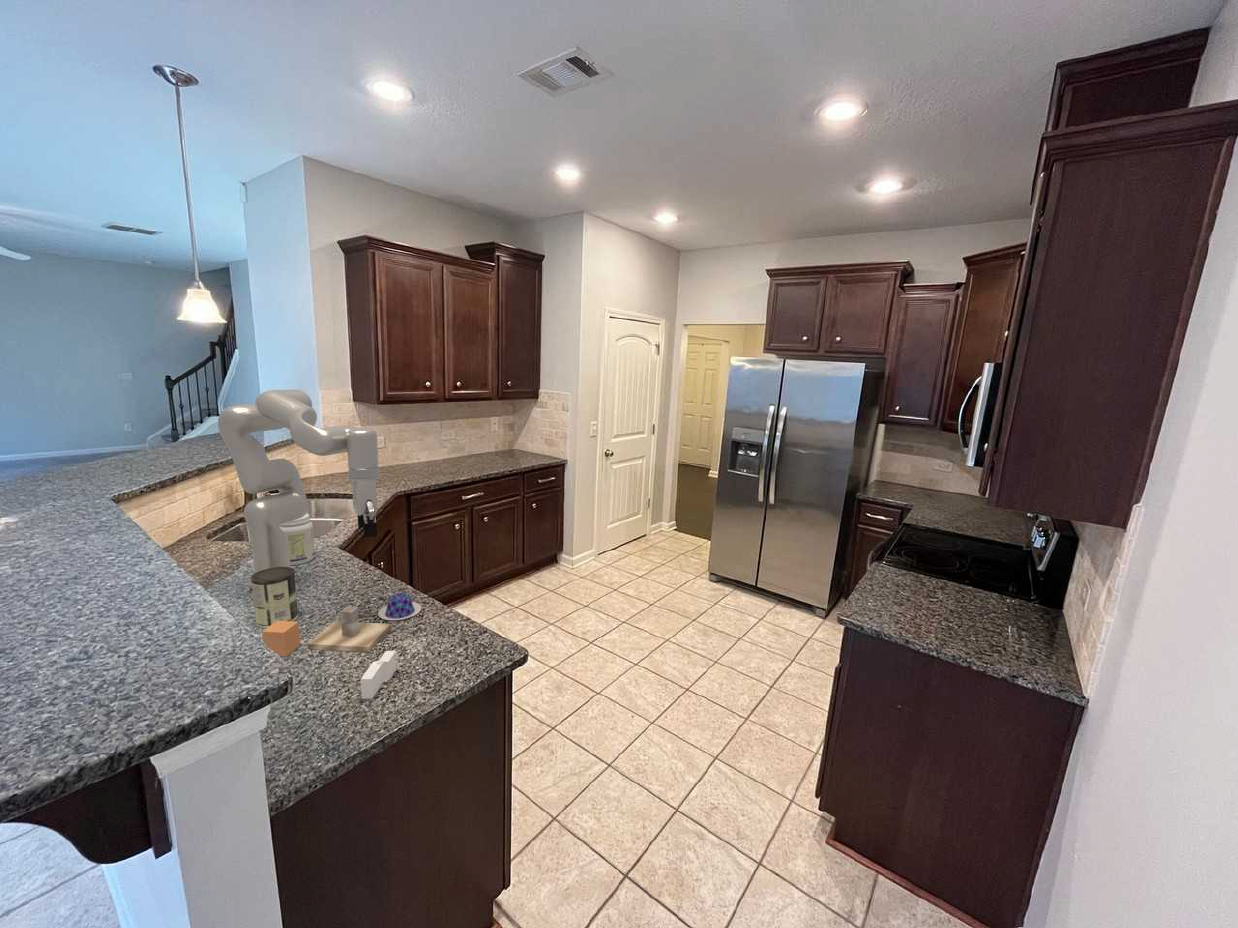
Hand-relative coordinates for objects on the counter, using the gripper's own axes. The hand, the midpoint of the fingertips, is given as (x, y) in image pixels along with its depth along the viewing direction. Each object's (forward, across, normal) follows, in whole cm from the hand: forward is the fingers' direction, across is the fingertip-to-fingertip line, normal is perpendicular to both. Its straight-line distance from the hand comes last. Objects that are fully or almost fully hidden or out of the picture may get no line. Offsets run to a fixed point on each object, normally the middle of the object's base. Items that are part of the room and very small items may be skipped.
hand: (367, 531), depth 144 cm
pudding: (+27, +1, +7) cm, 28 cm away
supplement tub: (+26, -60, -15) cm, 67 cm away
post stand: (+26, +10, -7) cm, 29 cm away
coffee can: (+26, -12, -23) cm, 37 cm away
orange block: (+26, +7, -22) cm, 35 cm away
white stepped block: (+27, +35, -4) cm, 44 cm away
